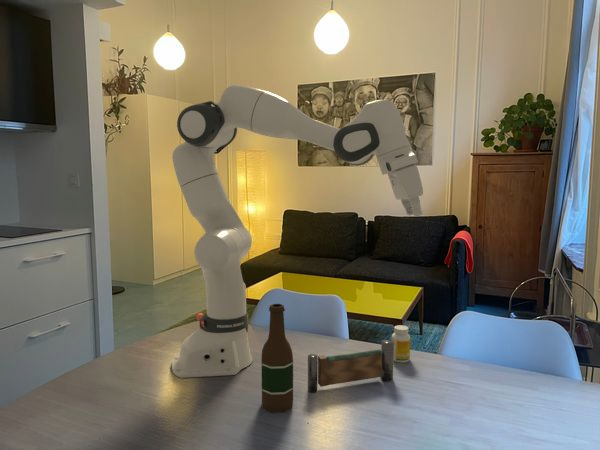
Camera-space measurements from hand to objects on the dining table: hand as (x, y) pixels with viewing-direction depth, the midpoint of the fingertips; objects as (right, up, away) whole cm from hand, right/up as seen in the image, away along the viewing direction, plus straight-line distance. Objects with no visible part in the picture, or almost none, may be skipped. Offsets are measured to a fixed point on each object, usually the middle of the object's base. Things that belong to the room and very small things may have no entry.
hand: (414, 215), depth 115 cm
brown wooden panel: (-16, -42, +2) cm, 45 cm away
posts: (-16, -43, +3) cm, 46 cm away
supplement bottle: (0, -42, +18) cm, 46 cm away
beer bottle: (-34, -45, -8) cm, 57 cm away
